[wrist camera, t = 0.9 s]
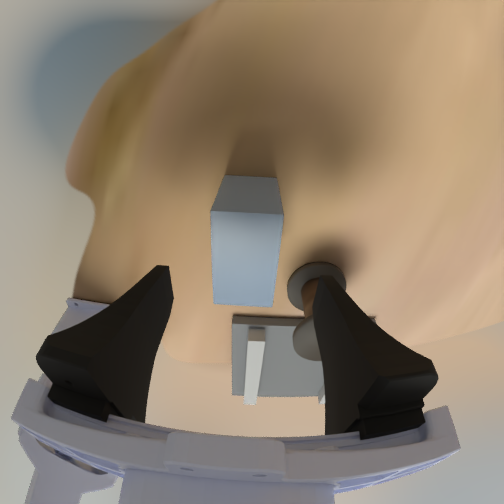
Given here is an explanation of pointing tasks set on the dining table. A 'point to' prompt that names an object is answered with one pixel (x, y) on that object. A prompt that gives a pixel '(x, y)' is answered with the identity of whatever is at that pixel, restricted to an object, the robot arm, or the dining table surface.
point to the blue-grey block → (246, 240)
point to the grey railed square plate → (271, 361)
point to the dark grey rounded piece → (309, 304)
